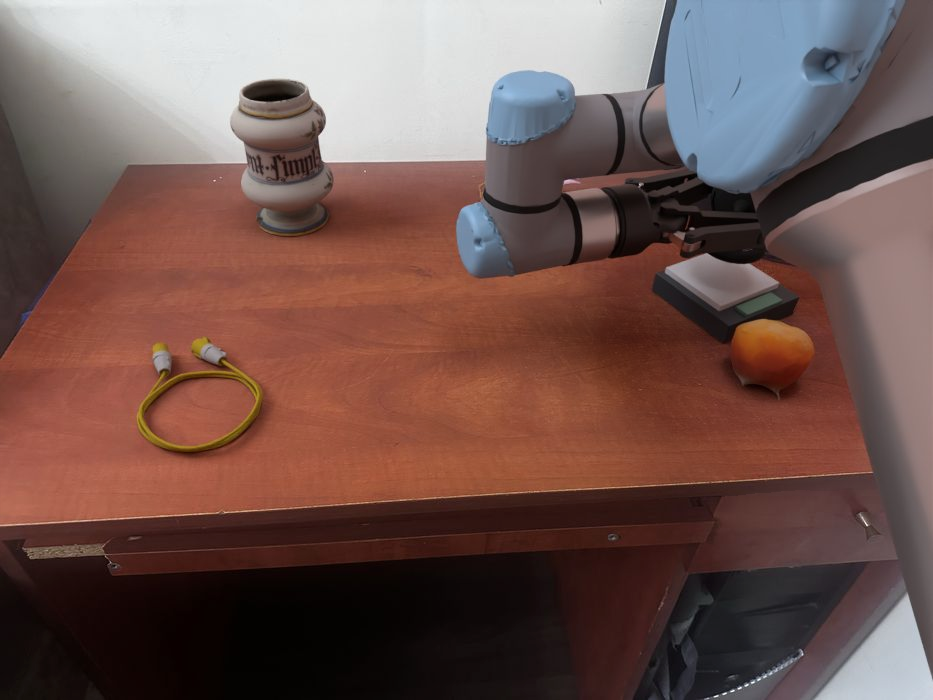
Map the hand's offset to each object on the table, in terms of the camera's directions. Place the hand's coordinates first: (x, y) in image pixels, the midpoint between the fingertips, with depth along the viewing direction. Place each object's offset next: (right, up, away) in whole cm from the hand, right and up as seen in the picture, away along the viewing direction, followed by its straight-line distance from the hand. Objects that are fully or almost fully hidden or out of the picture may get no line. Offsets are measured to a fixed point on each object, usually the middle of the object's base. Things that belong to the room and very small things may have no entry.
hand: (782, 197), depth 81 cm
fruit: (-4, -20, -4) cm, 21 cm away
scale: (-5, -12, +6) cm, 14 cm away
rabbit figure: (-27, +5, +25) cm, 37 cm away
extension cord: (-62, -22, -10) cm, 67 cm away
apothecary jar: (-60, +1, +18) cm, 63 cm away
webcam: (-5, -6, +3) cm, 8 cm away
